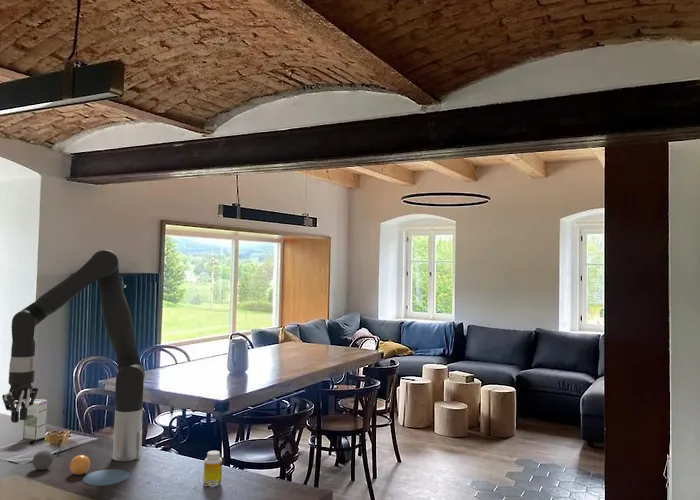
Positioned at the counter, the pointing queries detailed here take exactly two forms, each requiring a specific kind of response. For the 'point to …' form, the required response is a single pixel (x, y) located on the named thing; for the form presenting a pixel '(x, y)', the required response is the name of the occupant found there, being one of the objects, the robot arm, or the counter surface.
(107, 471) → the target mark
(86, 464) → the object ball
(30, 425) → the syrup box
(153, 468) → the counter surface
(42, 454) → the cue ball
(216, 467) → the supplement bottle
